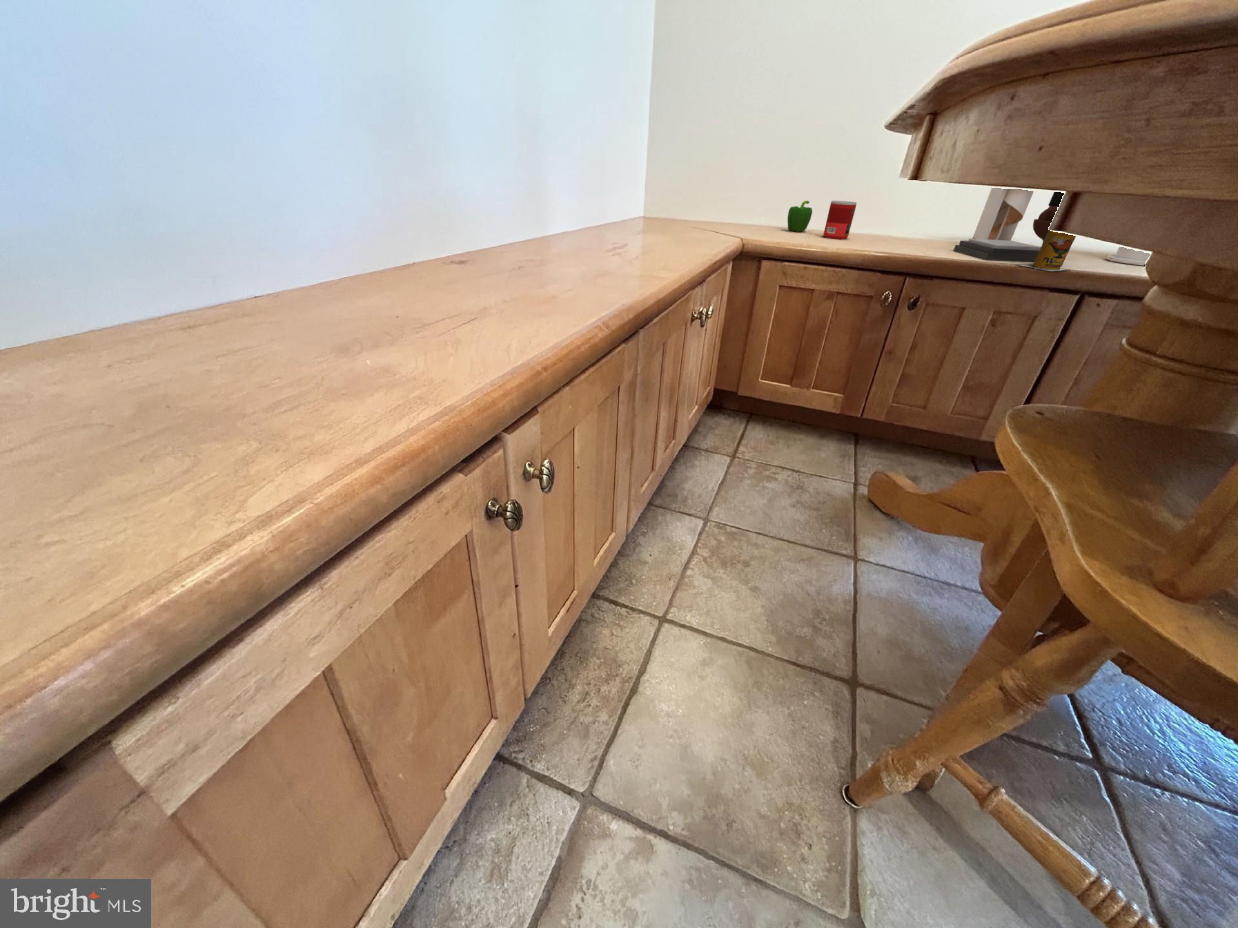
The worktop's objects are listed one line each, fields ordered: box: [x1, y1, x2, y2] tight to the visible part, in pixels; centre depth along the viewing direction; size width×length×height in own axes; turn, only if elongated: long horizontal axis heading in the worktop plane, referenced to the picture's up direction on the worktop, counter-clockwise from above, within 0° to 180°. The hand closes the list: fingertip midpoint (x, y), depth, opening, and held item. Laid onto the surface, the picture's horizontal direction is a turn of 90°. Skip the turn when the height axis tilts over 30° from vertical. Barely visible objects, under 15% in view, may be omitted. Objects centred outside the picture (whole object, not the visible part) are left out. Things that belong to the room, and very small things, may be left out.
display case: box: [971, 187, 1034, 241], centre depth 156 cm, size 11×11×35 cm
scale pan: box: [967, 238, 1041, 250], centre depth 146 cm, size 13×13×1 cm
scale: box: [953, 240, 1039, 263], centre depth 147 cm, size 18×16×3 cm
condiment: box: [1020, 230, 1077, 272], centre depth 129 cm, size 7×8×12 cm
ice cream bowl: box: [1032, 205, 1057, 242], centre depth 150 cm, size 11×11×15 cm
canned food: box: [823, 200, 858, 240], centre depth 167 cm, size 8×8×11 cm
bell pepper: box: [787, 200, 813, 233], centre depth 179 cm, size 8×8×10 cm
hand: (1069, 208), depth 125 cm, fingers open, 9 cm apart
